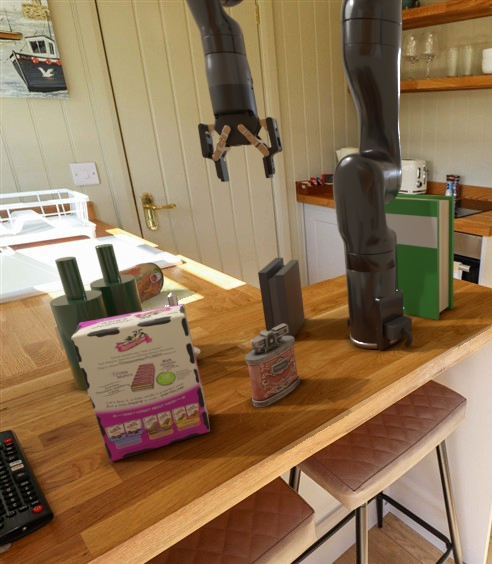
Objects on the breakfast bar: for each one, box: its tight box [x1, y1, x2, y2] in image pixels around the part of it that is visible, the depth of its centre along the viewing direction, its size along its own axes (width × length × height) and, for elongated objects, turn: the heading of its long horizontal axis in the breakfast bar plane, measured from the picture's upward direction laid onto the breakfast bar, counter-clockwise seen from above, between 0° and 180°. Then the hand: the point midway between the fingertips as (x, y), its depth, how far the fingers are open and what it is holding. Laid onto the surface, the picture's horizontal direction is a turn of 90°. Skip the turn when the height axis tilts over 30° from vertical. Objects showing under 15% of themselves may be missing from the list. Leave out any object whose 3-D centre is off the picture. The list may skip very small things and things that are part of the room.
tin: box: [119, 262, 165, 303], centre depth 101 cm, size 15×3×8 cm, turn 168°
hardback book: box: [385, 193, 455, 321], centre depth 90 cm, size 18×7×24 cm, turn 58°
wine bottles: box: [49, 243, 144, 391], centre depth 68 cm, size 14×7×20 cm, turn 178°
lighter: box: [244, 324, 301, 408], centre depth 61 cm, size 8×3×10 cm, turn 148°
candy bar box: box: [71, 303, 211, 462], centre depth 51 cm, size 11×5×16 cm, turn 117°
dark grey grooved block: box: [257, 257, 306, 338], centre depth 81 cm, size 4×10×14 cm, turn 178°
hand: (247, 179), depth 79 cm, fingers open, 8 cm apart
